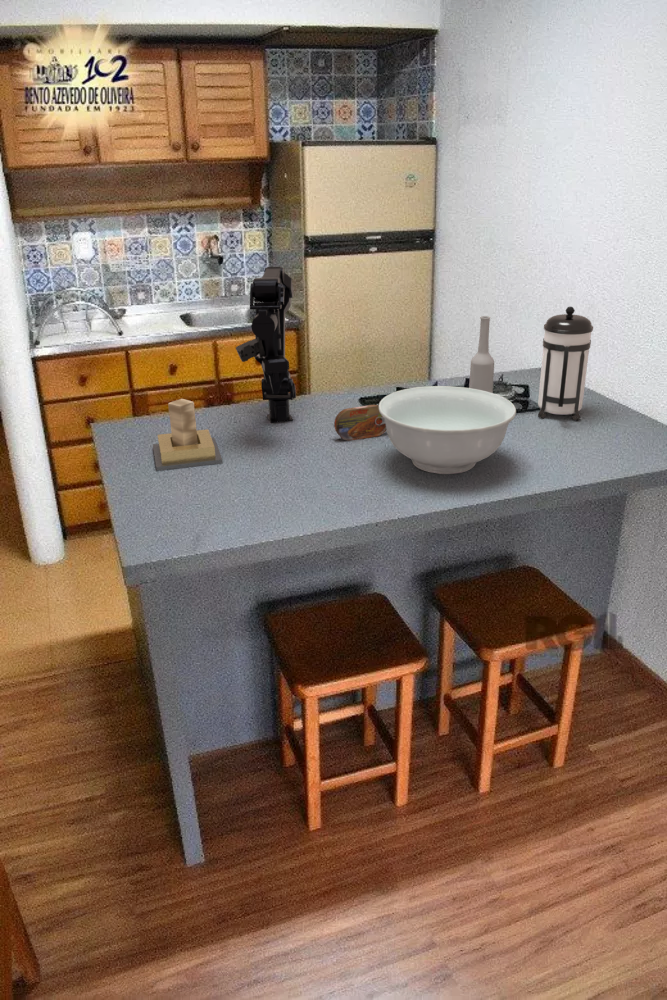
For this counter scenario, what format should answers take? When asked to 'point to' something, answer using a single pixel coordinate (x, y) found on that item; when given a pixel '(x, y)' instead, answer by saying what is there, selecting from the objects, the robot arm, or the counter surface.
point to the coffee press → (564, 364)
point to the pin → (183, 422)
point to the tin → (360, 423)
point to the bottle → (482, 361)
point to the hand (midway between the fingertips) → (272, 388)
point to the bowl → (446, 425)
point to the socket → (186, 452)
